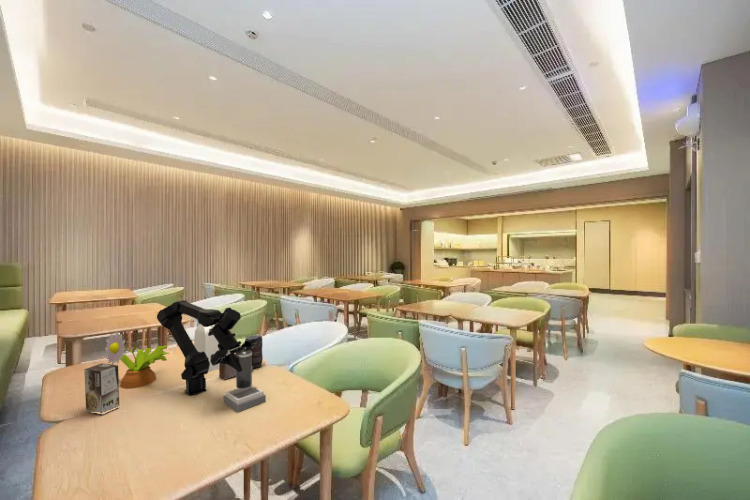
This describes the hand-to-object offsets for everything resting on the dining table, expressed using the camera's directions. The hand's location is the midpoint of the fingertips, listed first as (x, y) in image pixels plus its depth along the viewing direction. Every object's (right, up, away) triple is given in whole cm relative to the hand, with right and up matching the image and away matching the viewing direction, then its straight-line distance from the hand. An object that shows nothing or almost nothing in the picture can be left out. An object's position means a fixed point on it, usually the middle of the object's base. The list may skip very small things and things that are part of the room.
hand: (246, 368), depth 130 cm
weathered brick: (-16, -13, +29) cm, 36 cm away
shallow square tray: (-1, -13, +1) cm, 13 cm away
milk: (-33, -13, +40) cm, 53 cm away
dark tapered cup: (-1, -7, +1) cm, 7 cm away
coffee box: (-52, -14, -4) cm, 54 cm away
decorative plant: (-55, -14, +22) cm, 61 cm away
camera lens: (-11, -13, +39) cm, 42 cm away
